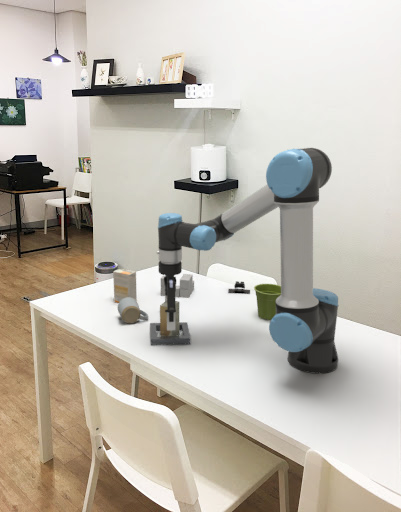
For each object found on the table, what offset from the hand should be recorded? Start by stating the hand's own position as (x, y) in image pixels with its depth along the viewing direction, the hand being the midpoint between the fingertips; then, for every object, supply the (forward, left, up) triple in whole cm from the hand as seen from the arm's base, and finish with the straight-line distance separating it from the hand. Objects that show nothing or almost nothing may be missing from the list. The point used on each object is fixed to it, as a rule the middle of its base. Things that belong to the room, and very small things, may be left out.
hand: (170, 321), depth 165 cm
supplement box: (+33, +16, -6) cm, 37 cm away
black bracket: (+44, -32, -6) cm, 55 cm away
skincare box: (0, 0, -6) cm, 6 cm away
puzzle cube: (+44, -6, -6) cm, 45 cm away
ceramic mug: (+15, +13, -6) cm, 21 cm away
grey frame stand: (+9, 0, -5) cm, 11 cm away
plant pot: (+15, -38, -6) cm, 41 cm away
